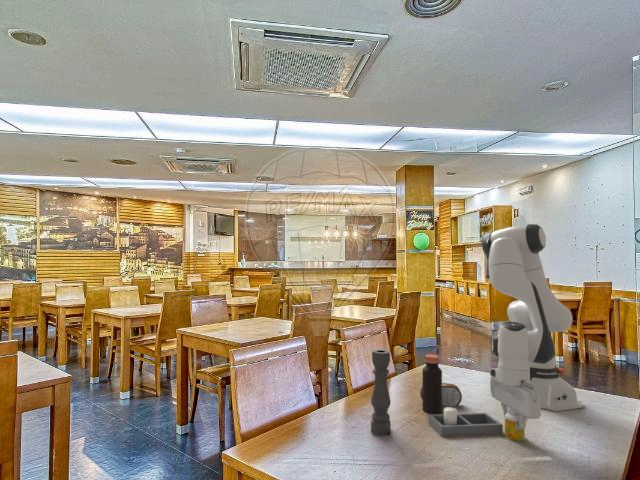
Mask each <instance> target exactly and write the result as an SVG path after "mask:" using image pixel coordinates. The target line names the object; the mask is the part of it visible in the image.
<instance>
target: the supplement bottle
mask: <svg viewBox="0 0 640 480" xmlns="http://www.w3.org/2000/svg"><path fill="white" fill-rule="evenodd" d="M507 412H508V413H506V414H505V417H504V436H505V438H506V439H507V440H510V441H513V442H523V441H525V436H526V435H525V428H520V427H519V426H517V420H519V419H520V416H519V412H517V411H515V410H514V409H512V408H510V407H508V406H507Z"/></svg>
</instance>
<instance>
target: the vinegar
mask: <svg viewBox="0 0 640 480" xmlns="http://www.w3.org/2000/svg"><path fill="white" fill-rule="evenodd" d="M424 362H425V366H424V367H423V368H422V386H423V400H422V412H424V413H427V414H429V415H437V414H443V406H442V383H443V371H442V369H441V367H440V366H439V364H440V356H439V355H438V354H437V355H436V354H425V355H424Z"/></svg>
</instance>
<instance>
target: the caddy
mask: <svg viewBox="0 0 640 480" xmlns="http://www.w3.org/2000/svg"><path fill="white" fill-rule="evenodd" d="M427 417H428V418H427V419H428V421H427V422H428V425H430V427H432V428H433V430H435V432H436V433H437V434H438V435H439V436H440V437H457V436H459V437H460V436H476V435H477V436H478V435H479V436H480V435H481V436H482V435H496V434H497V435H498V434H500V435H501V434H502V435H503V433H504V432H503V431H504V430H503V429H504V426H503V423H501V422H500V421H499V420H497V419H496V418H494V417H493V416H491V415H489V414H488V413H487V412H472V413H471V412H469V413H468V412H467V413H457V425H447V426H444V413H440V414H428V416H427Z"/></svg>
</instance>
